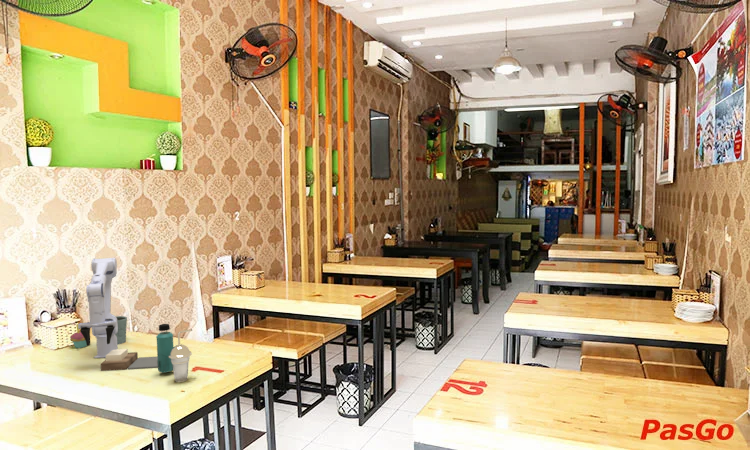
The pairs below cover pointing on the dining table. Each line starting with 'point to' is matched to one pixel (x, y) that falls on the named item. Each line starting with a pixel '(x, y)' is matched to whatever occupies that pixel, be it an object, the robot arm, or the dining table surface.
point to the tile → (117, 355)
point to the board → (120, 363)
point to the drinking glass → (121, 329)
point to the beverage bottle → (164, 348)
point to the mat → (144, 363)
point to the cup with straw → (180, 360)
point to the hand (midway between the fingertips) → (98, 344)
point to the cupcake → (78, 339)
